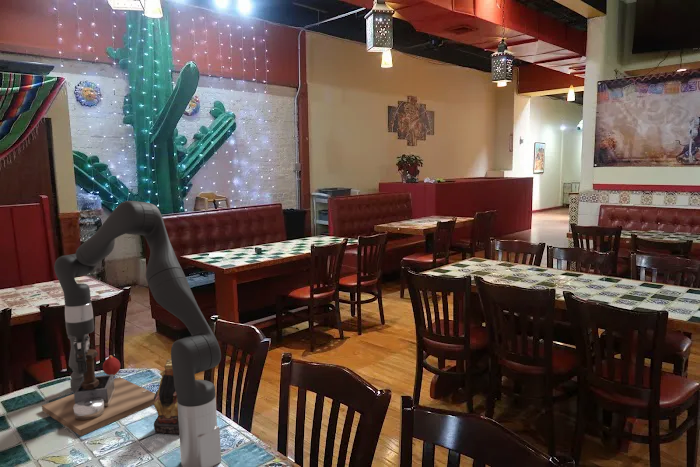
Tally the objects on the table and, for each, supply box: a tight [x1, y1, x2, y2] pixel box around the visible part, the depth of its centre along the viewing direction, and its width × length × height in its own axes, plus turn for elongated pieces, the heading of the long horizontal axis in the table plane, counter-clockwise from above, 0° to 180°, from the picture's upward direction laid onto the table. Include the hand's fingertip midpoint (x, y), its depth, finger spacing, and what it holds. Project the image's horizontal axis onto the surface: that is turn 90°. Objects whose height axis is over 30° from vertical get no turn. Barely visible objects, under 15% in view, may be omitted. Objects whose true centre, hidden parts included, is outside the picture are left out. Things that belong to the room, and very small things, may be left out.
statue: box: [153, 358, 179, 436], centre depth 138 cm, size 12×8×20 cm, turn 76°
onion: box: [102, 355, 121, 376], centre depth 175 cm, size 6×6×8 cm
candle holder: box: [64, 319, 84, 392], centre depth 165 cm, size 6×6×25 cm
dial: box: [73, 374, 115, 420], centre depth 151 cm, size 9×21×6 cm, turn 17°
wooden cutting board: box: [41, 376, 156, 437], centre depth 153 cm, size 25×25×2 cm
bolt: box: [79, 348, 99, 391], centre depth 152 cm, size 6×5×15 cm
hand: (84, 368), depth 151 cm, fingers open, 8 cm apart
